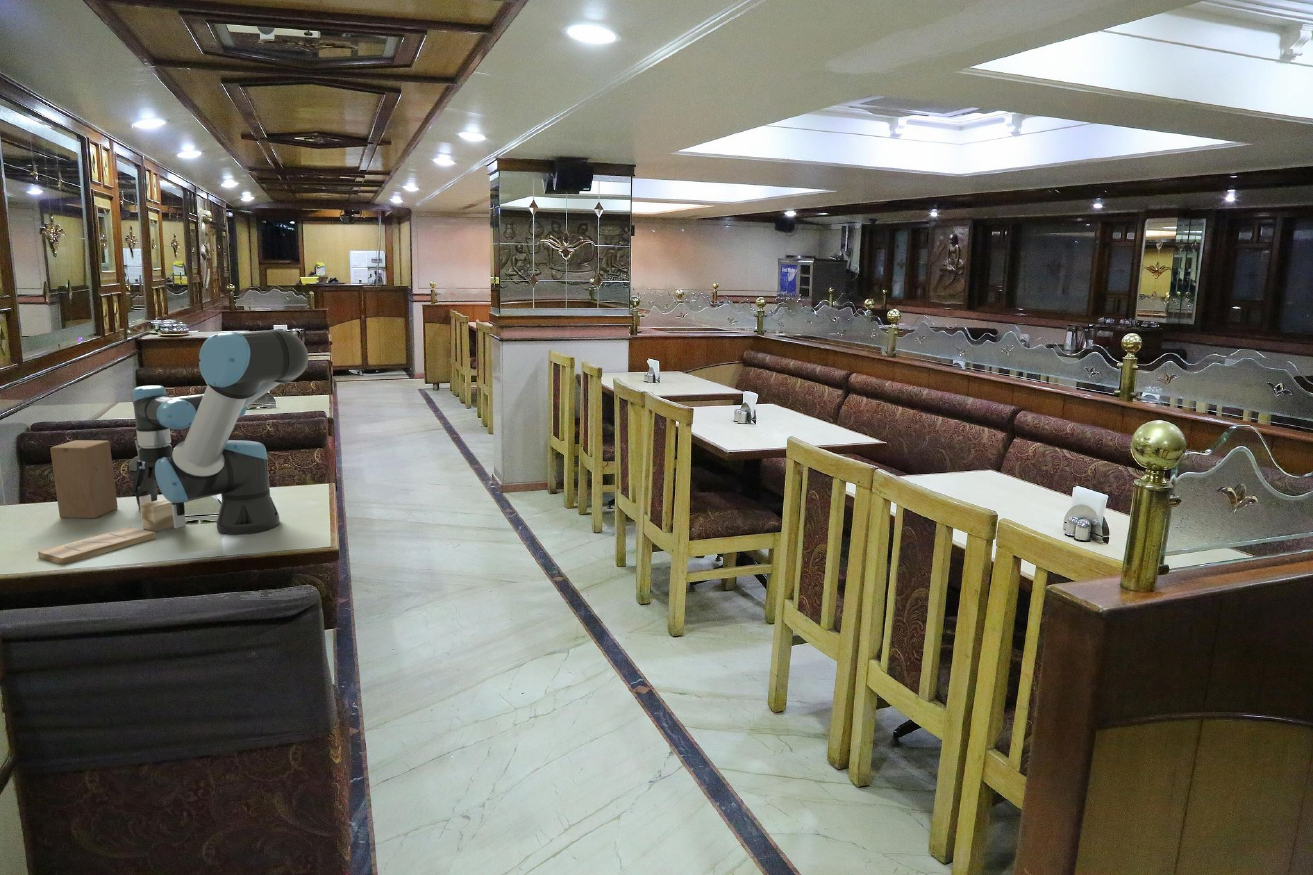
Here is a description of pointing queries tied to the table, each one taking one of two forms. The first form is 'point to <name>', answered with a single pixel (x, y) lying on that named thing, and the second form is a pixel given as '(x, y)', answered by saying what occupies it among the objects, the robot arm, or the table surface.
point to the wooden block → (84, 478)
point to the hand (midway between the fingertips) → (163, 523)
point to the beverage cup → (133, 472)
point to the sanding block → (157, 515)
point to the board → (96, 545)
